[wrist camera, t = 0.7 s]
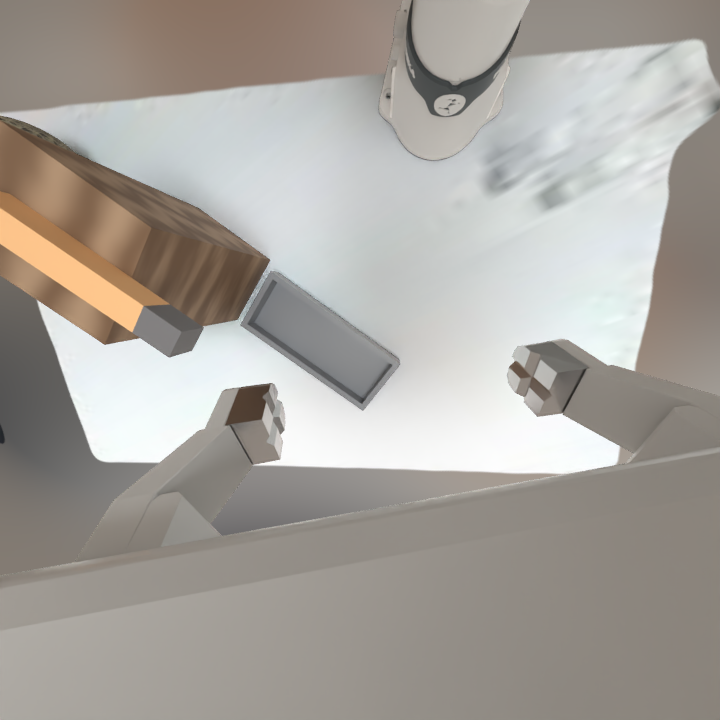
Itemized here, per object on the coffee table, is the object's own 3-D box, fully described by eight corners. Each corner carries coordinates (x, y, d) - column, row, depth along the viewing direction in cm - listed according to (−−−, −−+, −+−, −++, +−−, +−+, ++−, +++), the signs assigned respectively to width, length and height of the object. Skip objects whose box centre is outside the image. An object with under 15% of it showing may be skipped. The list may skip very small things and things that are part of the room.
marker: (203, 327, 27) (181, 331, 24) (191, 350, 27) (169, 357, 25) (9, 193, 25) (-40, 181, 22) (3, 222, 26) (-45, 213, 23)
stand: (270, 260, 50) (151, 227, 25) (237, 319, 53) (104, 344, 28) (198, 208, 49) (-2, 119, 24) (170, 272, 52) (-30, 255, 27)
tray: (399, 359, 52) (400, 364, 49) (364, 403, 55) (363, 410, 52) (278, 272, 50) (270, 271, 47) (249, 323, 53) (240, 325, 50)
